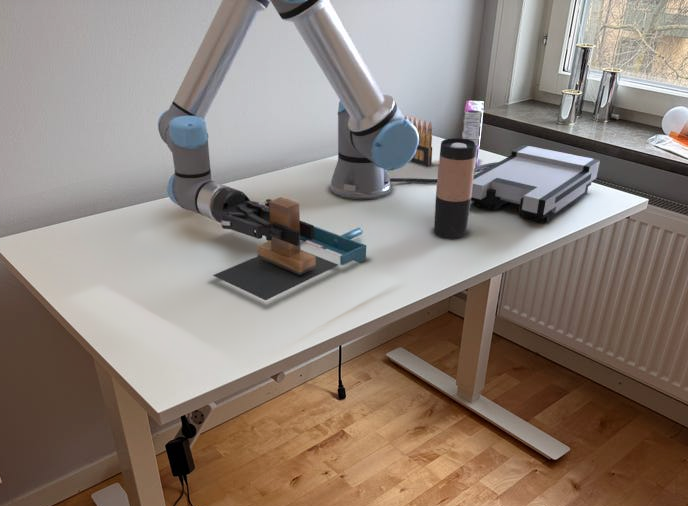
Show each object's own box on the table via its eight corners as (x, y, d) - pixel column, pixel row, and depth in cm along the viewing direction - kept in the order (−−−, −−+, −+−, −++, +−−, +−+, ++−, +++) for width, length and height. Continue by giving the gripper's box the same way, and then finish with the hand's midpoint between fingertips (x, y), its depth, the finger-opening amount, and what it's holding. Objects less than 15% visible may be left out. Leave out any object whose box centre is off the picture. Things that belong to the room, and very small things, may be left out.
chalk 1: (303, 245, 150) (307, 247, 151) (319, 251, 147) (323, 253, 148) (305, 239, 149) (309, 240, 151) (321, 245, 147) (325, 247, 148)
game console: (459, 209, 169) (463, 176, 165) (518, 175, 191) (523, 144, 186) (540, 230, 159) (546, 195, 154) (593, 191, 180) (600, 160, 175)
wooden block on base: (273, 250, 144) (270, 191, 138) (315, 267, 138) (315, 207, 131) (257, 257, 142) (254, 197, 135) (300, 275, 135) (298, 213, 128)
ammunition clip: (399, 157, 203) (401, 115, 196) (403, 156, 204) (405, 114, 197) (427, 166, 196) (430, 122, 190) (431, 165, 197) (435, 121, 191)
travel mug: (425, 232, 157) (433, 143, 146) (445, 223, 162) (454, 135, 151) (454, 242, 153) (463, 150, 142) (473, 232, 158) (484, 142, 147)
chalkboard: (286, 250, 149) (286, 243, 149) (338, 271, 141) (338, 264, 140) (213, 282, 137) (212, 275, 136) (265, 307, 129) (265, 300, 128)
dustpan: (342, 271, 141) (342, 256, 139) (286, 249, 150) (285, 234, 148) (389, 248, 151) (390, 233, 149) (334, 228, 159) (334, 214, 158)
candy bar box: (460, 159, 202) (466, 99, 193) (477, 160, 201) (484, 100, 192) (458, 171, 193) (464, 110, 184) (476, 172, 192) (483, 111, 183)
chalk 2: (325, 256, 147) (329, 251, 147) (341, 262, 144) (345, 257, 145) (322, 252, 146) (326, 247, 146) (339, 258, 143) (343, 253, 144)
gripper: (254, 211, 153) (334, 241, 140) (195, 233, 143) (274, 267, 130) (252, 177, 149) (334, 205, 136) (191, 197, 139) (273, 229, 125)
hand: (305, 235), depth 133 cm, fingers closed on wooden block on base, 3 cm apart
